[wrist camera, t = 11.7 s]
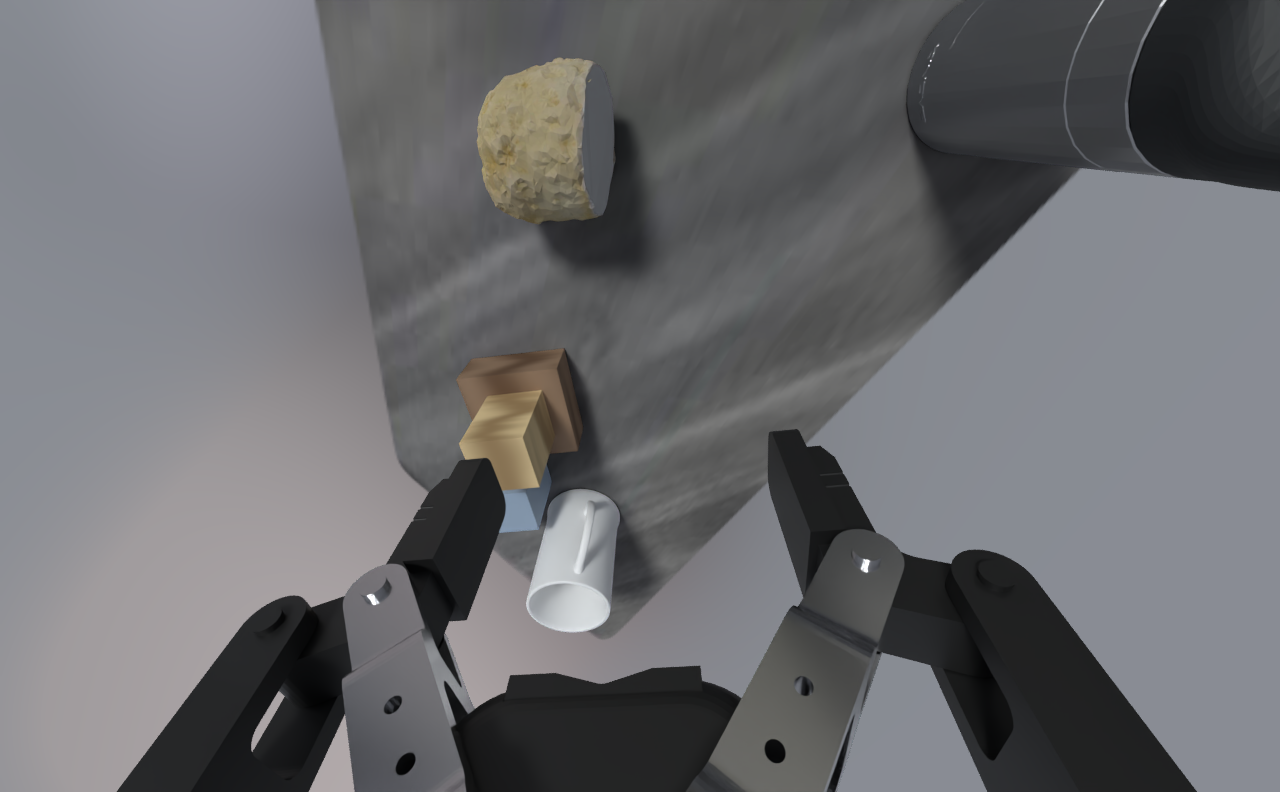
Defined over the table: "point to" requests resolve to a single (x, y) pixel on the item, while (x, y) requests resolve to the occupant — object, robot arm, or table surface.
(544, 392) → the walnut slab
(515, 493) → the slate block
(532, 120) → the coral
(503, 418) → the oak block
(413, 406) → the table surface
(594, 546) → the mug
